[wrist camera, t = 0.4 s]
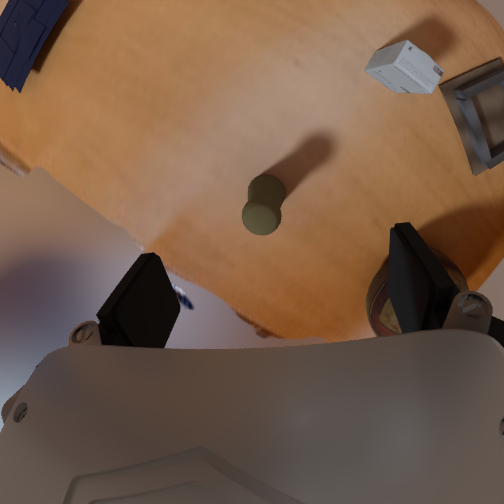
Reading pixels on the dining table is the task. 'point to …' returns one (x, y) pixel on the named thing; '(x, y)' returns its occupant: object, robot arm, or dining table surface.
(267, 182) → the cork
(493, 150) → the socket stand
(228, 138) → the dining table surface
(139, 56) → the dining table surface
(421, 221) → the dining table surface
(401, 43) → the skincare box
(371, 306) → the painted clay vase
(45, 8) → the navy folded cloth
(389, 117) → the dining table surface
